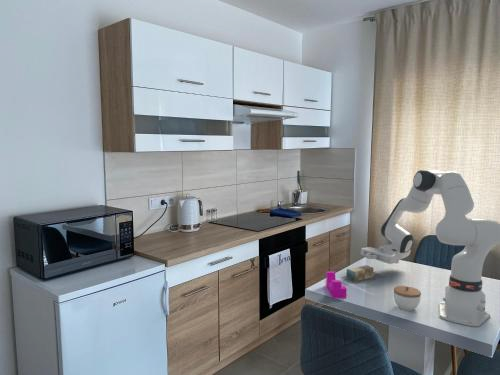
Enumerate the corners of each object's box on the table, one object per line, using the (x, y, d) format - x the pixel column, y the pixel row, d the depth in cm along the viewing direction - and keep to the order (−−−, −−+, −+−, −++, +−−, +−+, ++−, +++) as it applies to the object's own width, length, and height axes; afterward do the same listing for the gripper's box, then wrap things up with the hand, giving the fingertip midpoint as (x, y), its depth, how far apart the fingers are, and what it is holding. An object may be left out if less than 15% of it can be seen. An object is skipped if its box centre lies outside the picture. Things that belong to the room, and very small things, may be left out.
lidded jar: (392, 301, 168) (393, 280, 167) (418, 304, 165) (420, 283, 164) (393, 310, 158) (394, 289, 157) (421, 314, 155) (422, 292, 154)
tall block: (366, 265, 202) (346, 269, 195) (373, 267, 198) (353, 271, 191) (365, 274, 203) (346, 278, 196) (373, 277, 198) (353, 281, 191)
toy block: (346, 298, 172) (346, 282, 171) (332, 298, 172) (332, 282, 171) (338, 286, 187) (339, 271, 186) (326, 286, 187) (326, 271, 186)
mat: (370, 271, 209) (370, 270, 208) (386, 277, 199) (386, 276, 199) (340, 278, 198) (340, 277, 198) (355, 284, 188) (355, 283, 188)
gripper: (371, 243, 214) (353, 246, 207) (401, 252, 196) (383, 255, 189) (370, 254, 214) (352, 257, 208) (401, 264, 197) (382, 268, 190)
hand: (367, 256), depth 198 cm, fingers closed
